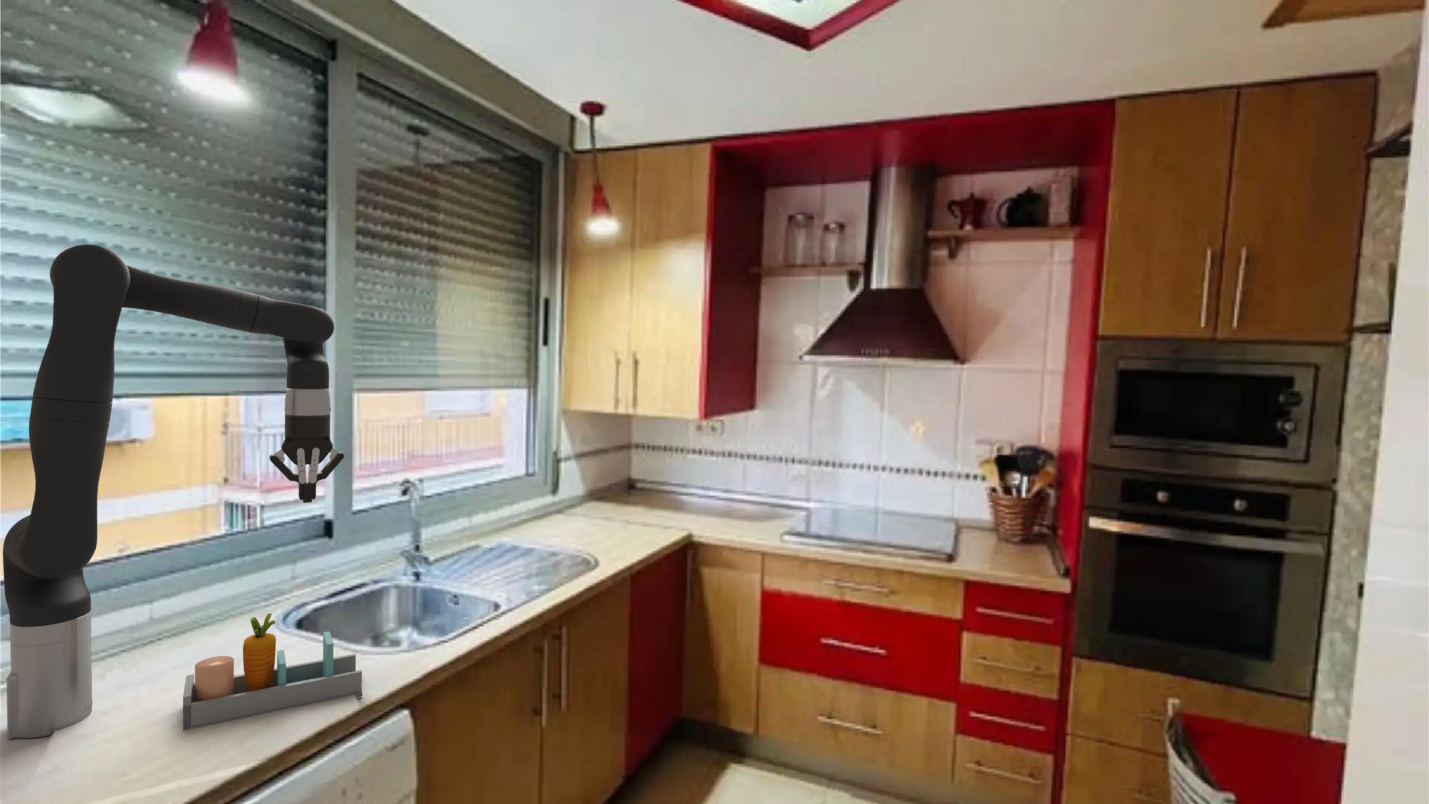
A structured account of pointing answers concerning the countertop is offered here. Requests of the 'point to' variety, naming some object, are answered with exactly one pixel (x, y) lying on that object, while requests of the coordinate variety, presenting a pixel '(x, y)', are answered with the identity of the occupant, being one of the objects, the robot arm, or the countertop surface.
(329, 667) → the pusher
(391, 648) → the countertop surface
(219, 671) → the pink cylinder
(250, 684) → the carrot
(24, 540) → the robot arm
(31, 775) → the countertop surface
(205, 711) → the tray
